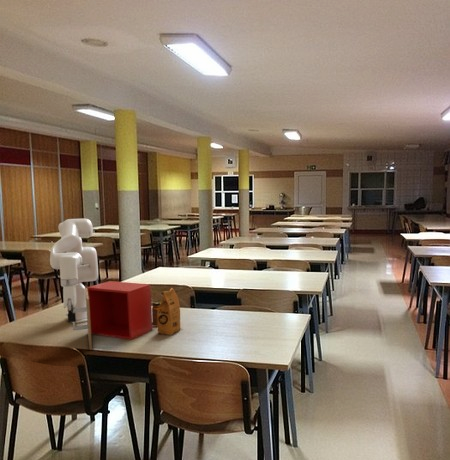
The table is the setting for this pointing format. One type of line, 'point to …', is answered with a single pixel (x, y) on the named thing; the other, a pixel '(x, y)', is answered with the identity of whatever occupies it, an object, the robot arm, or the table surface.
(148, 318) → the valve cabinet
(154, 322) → the condiment
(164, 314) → the coffee package
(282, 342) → the table surface
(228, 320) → the table surface
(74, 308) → the door
